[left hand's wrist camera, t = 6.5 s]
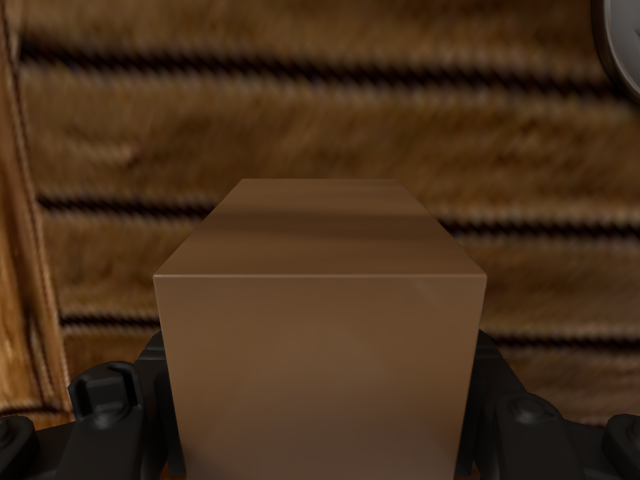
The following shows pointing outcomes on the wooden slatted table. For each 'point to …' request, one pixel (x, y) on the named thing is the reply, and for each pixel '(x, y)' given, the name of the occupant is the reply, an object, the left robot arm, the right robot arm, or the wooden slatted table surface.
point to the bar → (320, 334)
